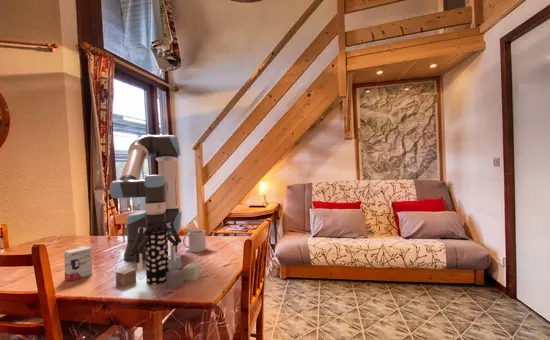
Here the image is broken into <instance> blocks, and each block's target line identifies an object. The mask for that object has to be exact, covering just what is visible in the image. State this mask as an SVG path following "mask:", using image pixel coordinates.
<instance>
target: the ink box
mask: <svg viewBox="0 0 550 340" xmlns="http://www.w3.org/2000/svg"><path fill="white" fill-rule="evenodd" d="M92 252H93V251H92V247H89V246H81V247H77V248H73V249H68V250H65V251H64V252H63V253H64V258H63V259H64V280H66V281H68V282H73V281H75V280H79V279H81V278H82V279H83V278H84V277H87V276H88V277H89V276H91V275H93V259H92V258H93V256H92V255H93V253H92Z"/></svg>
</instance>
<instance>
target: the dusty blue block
mask: <svg viewBox="0 0 550 340" xmlns="http://www.w3.org/2000/svg"><path fill="white" fill-rule="evenodd" d="M168 262H169V272H170V271H174V270H177V269H181V268H182V257H181V256H180V255H178V254H176V261H175V262H174V261H171V255H170V256H169V255H168Z"/></svg>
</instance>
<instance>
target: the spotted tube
mask: <svg viewBox="0 0 550 340" xmlns="http://www.w3.org/2000/svg"><path fill="white" fill-rule="evenodd" d="M145 237H149V238H148V242H147V244H146V245H145V249H146V259H145V272H146V273H145V275H146V276H145V277H146V280H145V281H146V284H147V285H150V286H151V285H152V286H155V285H160V284H165V283H167V282H166V272H170V270H169V262H168V257H169V240H168V230H167V229H165V230H164V231H157V232H155V233H147V232H145Z"/></svg>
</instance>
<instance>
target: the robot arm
mask: <svg viewBox="0 0 550 340" xmlns="http://www.w3.org/2000/svg"><path fill="white" fill-rule="evenodd" d="M127 153H128V155H127V159H126V161H125V164H124V167H123V168H122V172H121V175H120V177H119V180H118V179H117V180H113V181H111V182H110V184H109V194H110V197H112V198H113V199H130V198H132V199H133V198H144V199H145V200H144V204H145V205H144V207H145V209H144V210H140V211H136V212H133V213H130V214H128V215H127V216H126V223H125V224H126V240H127V242H126V243H127V244H126V247H125V249H124V250H125V251H124V253H123V260H124V261H127V262H134V263H136V265H137V266H136V267H137V269H136V270H137V271H138V272H143V271H144V269H143V261H144V260H146V249H145V245H146V244H147V242H148V238H149V237H145V232H147V233H155V232H157V231H164V230H165V229H167V230H168V242H170V243H171V244H170V246H169V247H170V256H171V261H174V262H175V261H176V255H177V254H176V253H177V252H178V246H179V244H180V243H182V240H181V237H180V235H179V234H178V233H179V232H180V231H181V225H182V218H183V217H182V213H183V212H182V211H181V210H180V208H179V206H178V205H177V200H176V199H177V195H176V162H177V161H178V160H179V157H180V156H181V148H180V143H179V138H178V136H177V135H171V134H145V135H142V136H140V137H138V138H137V139H135V140H134V141H133V142H131V144H130V145H129V147H128V150H127ZM148 157H155V160H156V161H157V162H158V166H157V167H158V169H157V170H158V174H151V175H150V174H147V175H145V176H144V179H140V178H141V175H142V170H143V168H144V163H145V161H146V159H147V158H148ZM171 235H172V236H171Z"/></svg>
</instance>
